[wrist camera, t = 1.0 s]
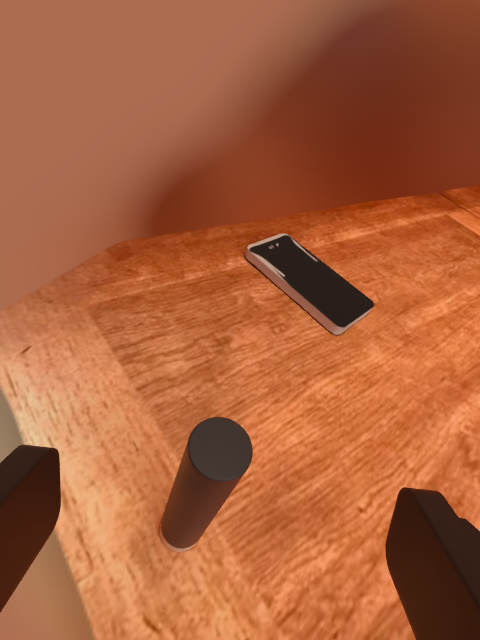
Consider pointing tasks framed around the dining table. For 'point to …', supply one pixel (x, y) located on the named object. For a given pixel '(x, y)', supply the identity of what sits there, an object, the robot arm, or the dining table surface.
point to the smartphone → (309, 282)
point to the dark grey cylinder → (204, 480)
